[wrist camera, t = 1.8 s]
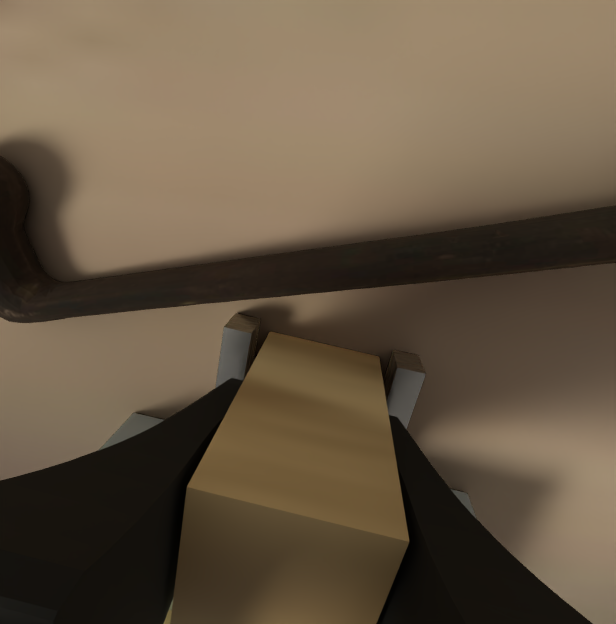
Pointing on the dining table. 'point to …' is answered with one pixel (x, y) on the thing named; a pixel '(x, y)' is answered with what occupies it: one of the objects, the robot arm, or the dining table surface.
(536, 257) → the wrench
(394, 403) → the keeper
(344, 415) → the wooden block
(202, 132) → the dining table surface
